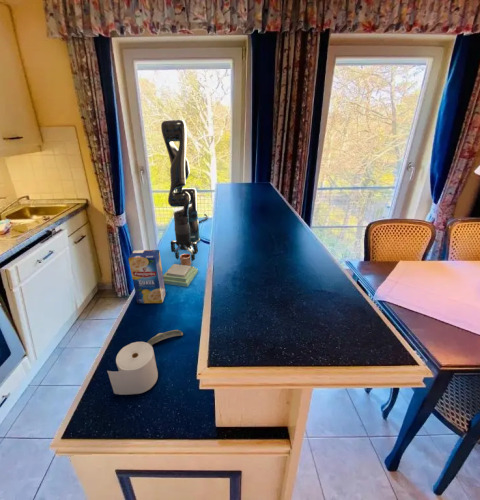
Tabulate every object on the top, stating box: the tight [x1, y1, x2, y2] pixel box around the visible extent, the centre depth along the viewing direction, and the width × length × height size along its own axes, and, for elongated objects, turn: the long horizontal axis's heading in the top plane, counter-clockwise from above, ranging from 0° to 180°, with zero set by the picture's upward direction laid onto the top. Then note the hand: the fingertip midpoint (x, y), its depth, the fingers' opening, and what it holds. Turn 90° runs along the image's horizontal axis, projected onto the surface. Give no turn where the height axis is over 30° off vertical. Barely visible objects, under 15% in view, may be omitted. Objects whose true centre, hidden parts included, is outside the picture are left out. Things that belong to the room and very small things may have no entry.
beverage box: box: [127, 249, 167, 304], centre depth 118 cm, size 7×11×22 cm, turn 88°
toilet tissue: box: [106, 341, 159, 396], centre depth 83 cm, size 11×12×10 cm
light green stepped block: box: [163, 263, 199, 288], centre depth 137 cm, size 14×14×4 cm
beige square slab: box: [165, 263, 192, 277], centre depth 136 cm, size 9×9×2 cm
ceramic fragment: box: [146, 329, 184, 346], centre depth 100 cm, size 14×5×4 cm, turn 113°
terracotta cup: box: [179, 253, 192, 266], centre depth 148 cm, size 6×6×5 cm
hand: (185, 259), depth 148 cm, fingers open, 8 cm apart
